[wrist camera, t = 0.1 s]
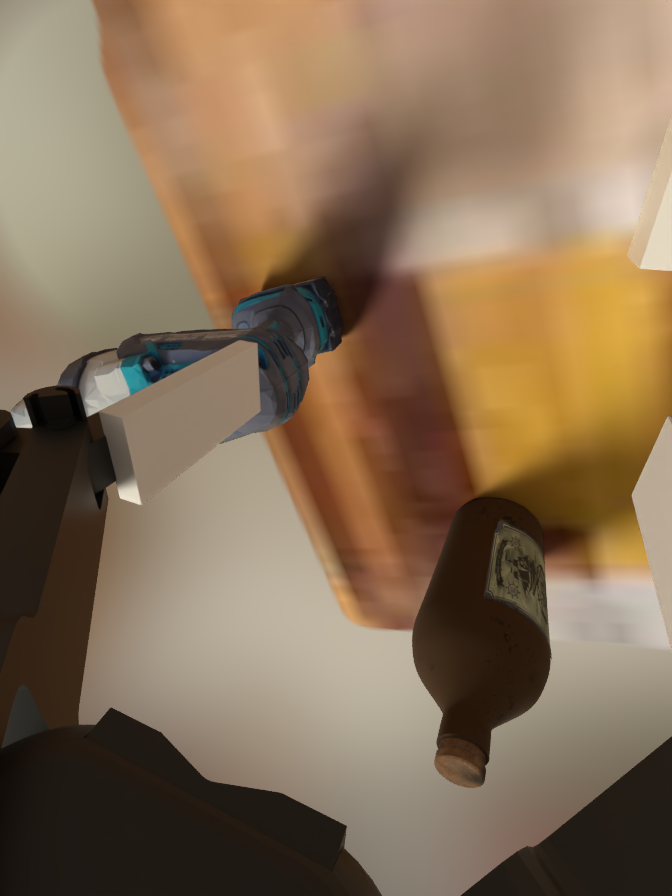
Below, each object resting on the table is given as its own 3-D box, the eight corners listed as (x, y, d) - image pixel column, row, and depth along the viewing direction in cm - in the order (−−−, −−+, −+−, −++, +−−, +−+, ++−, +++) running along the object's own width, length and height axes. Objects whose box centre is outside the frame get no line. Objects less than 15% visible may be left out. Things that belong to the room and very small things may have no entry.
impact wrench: (192, 304, 51) (-45, 385, 30) (385, 250, 40) (222, 318, 20) (218, 372, 54) (19, 487, 33) (404, 338, 43) (278, 473, 23)
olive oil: (491, 585, 53) (456, 831, 33) (426, 522, 52) (349, 734, 32) (573, 545, 47) (591, 819, 27) (500, 473, 46) (462, 698, 26)
